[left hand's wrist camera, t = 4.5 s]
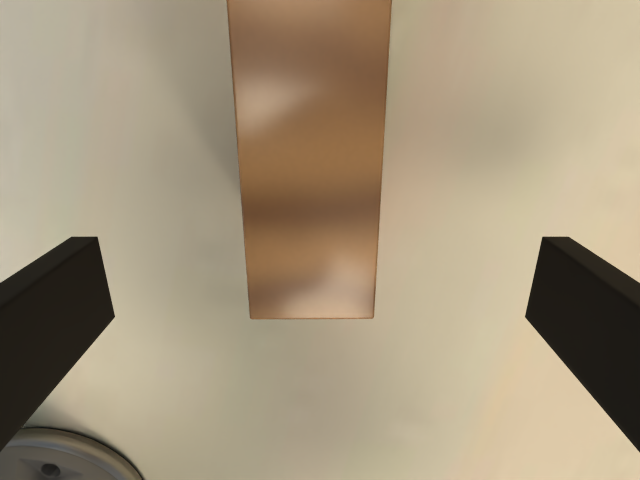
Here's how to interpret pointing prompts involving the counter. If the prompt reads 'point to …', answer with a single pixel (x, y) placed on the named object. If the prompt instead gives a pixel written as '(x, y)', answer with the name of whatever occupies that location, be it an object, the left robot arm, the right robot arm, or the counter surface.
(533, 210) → the counter surface
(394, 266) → the counter surface
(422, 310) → the counter surface
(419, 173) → the counter surface
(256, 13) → the post
